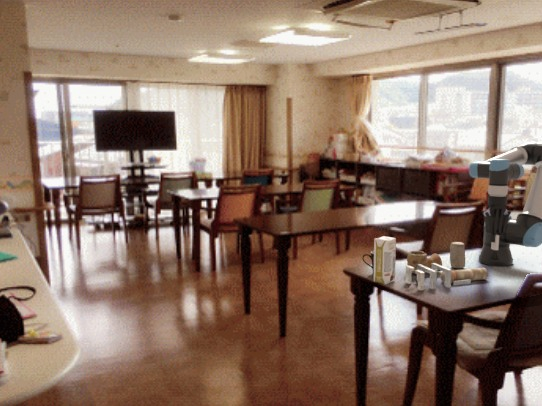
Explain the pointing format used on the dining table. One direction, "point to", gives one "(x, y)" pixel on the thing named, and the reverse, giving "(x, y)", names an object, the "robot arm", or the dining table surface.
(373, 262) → the coffee mug
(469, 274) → the dowel
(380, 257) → the juice carton
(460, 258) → the carving
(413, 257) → the pipe
